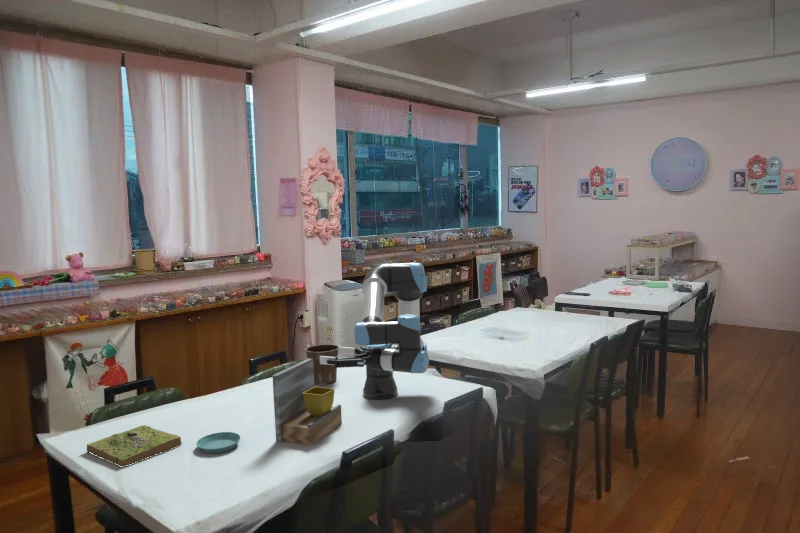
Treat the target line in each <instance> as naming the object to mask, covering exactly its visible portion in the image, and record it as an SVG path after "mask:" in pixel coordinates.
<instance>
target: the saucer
mask: <svg viewBox="0 0 800 533" xmlns="http://www.w3.org/2000/svg"><path fill="white" fill-rule="evenodd" d="M240 440H241V435H240V434H239V433H236V432H233V431H232V432H231V431H222V432H221V431H220V432H215V433H211V434H208V435H205V436H203V437H200V438H199V439H198V440H197V441H196V443H195V444H196V446H197V447H198V448H199V449H200V450H201V451H203V452H204V453H206V454H218V453H224V452H228V451H230V450H231V449H233V448H235V446H236V445H238V443H239V442H240Z"/></svg>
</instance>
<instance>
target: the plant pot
mask: <svg viewBox="0 0 800 533" xmlns="http://www.w3.org/2000/svg"><path fill="white" fill-rule="evenodd" d="M338 347H340V346H339V345H337V344H317V345H315V344H314V345H311V346H308V347H306V348H305V350H304V351H305V353H306V359H313V369H314V385H326V384H330V383H334V382H336V381H337V370H338V368H335V365H325V364H320V356H328V357H336V356H337V357H338V356H339V348H338Z"/></svg>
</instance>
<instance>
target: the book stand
mask: <svg viewBox="0 0 800 533" xmlns="http://www.w3.org/2000/svg"><path fill="white" fill-rule="evenodd" d="M271 377H272V388H273V390H272V393H273V409H274V411H273V412H274V428H275V441H276V442H279V443H281V442H287V443H294V444H300V445H308V446H312V445H314V444H315V443H317V442H319V441H320V440H321V439H323V437H325V436H327V435H328V434H329V433H331V432H332V431H333V430H335V429H336V428H338V427H339V426H340V425H341V424H343V421H342V417H343V416H342V405H341V404H337V405H335V406H332V407H331V409H330V410H329V411H328V412H326V413H325V414H323V415H322V416H313V415H310V414H309V412H308V411H307V409H306V407H305V403H304V398H303V392H305V391H307V390H309V389H311V388H313V387H315V383H314V369H313V359H308V358H306V359H305V360H302V361H301V362H298V363H296V364H294V365H292V366H289V367H287V368H286V369H283V370H281V371H278V372H276V373H274V374H272V376H271Z"/></svg>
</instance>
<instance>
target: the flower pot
mask: <svg viewBox="0 0 800 533" xmlns="http://www.w3.org/2000/svg"><path fill="white" fill-rule="evenodd" d="M303 398H304V403H305V407H306V409H307V411H308V412H309V414H310V415H313V416H322V415H323V414H325V413H326V412H328V411H329V410H330V409H331V407H333V404H334V399H335V388H334V387H332V388H331V387H323V386H314V387H313V388H311V389H309V390H307V391H305V392H303Z"/></svg>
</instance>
